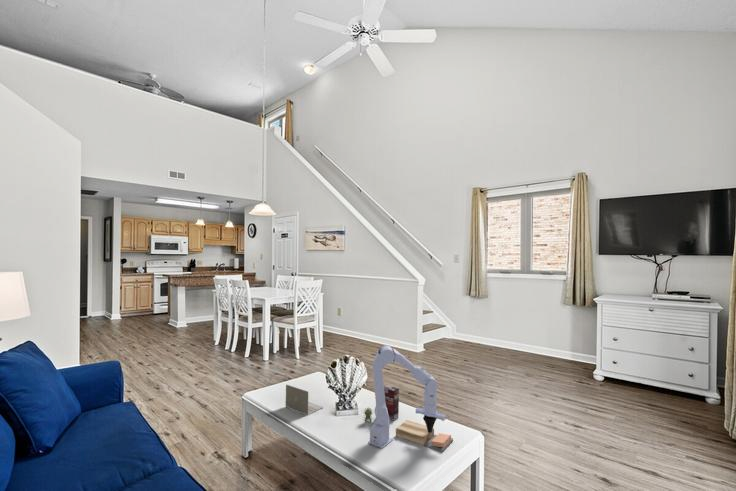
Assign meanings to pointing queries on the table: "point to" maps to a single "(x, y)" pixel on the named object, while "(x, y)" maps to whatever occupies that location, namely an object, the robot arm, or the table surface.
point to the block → (441, 440)
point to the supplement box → (392, 401)
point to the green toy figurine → (368, 415)
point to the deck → (414, 432)
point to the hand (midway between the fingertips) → (430, 431)
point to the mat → (436, 446)
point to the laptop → (299, 401)
